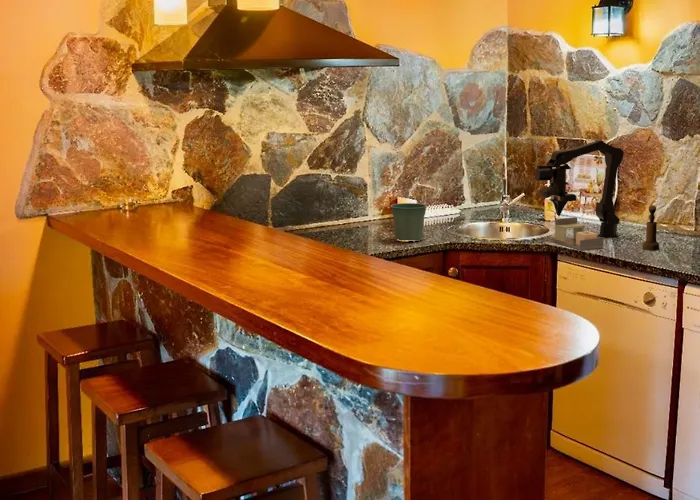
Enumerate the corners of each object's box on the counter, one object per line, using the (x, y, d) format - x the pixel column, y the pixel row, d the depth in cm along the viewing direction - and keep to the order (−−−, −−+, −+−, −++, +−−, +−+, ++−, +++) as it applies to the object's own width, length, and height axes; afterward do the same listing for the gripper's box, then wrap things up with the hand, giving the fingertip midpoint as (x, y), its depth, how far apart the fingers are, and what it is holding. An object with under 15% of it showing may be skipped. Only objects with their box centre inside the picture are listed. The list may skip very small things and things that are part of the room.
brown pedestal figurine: (639, 247, 339) (641, 204, 336) (654, 246, 340) (656, 204, 336) (646, 250, 333) (648, 206, 329) (662, 250, 333) (664, 206, 330)
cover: (574, 237, 358) (575, 217, 356) (584, 239, 352) (584, 219, 350) (555, 239, 355) (555, 219, 353) (564, 241, 349) (564, 221, 347)
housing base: (575, 240, 359) (575, 230, 358) (603, 248, 340) (603, 237, 339) (553, 242, 356) (553, 232, 355) (580, 250, 337) (580, 240, 336)
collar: (588, 242, 346) (588, 231, 345) (596, 245, 340) (596, 233, 339) (575, 244, 344) (576, 232, 343) (584, 246, 339) (584, 234, 338)
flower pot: (419, 236, 380) (418, 201, 377) (433, 242, 364) (432, 206, 361) (386, 239, 375) (385, 204, 372) (398, 245, 360) (397, 209, 357)
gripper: (531, 179, 363) (531, 213, 366) (555, 183, 346) (554, 219, 349) (553, 177, 367) (553, 211, 370) (577, 181, 349) (576, 217, 352)
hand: (558, 215), depth 360 cm, fingers closed
